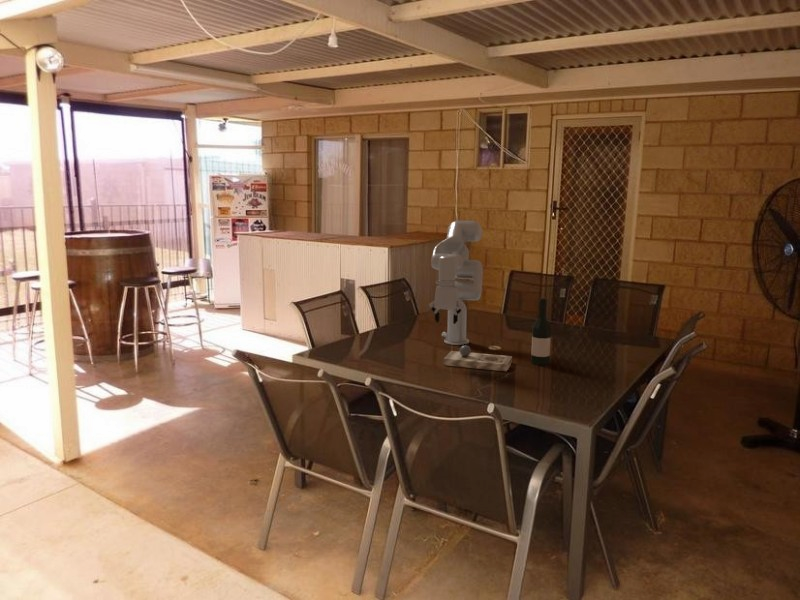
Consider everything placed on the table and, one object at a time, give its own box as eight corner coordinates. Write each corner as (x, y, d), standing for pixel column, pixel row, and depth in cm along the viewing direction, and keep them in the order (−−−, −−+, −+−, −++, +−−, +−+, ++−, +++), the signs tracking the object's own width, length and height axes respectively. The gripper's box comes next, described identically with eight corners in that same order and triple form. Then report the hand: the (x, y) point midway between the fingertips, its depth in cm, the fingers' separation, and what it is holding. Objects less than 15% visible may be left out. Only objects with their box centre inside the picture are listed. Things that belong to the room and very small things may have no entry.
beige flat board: (443, 365, 269) (443, 358, 268) (451, 357, 282) (451, 350, 281) (507, 371, 260) (507, 364, 259) (511, 362, 273) (512, 356, 272)
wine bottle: (536, 366, 267) (539, 299, 262) (527, 361, 275) (530, 296, 270) (553, 365, 269) (556, 298, 264) (543, 360, 277) (546, 295, 272)
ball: (457, 356, 272) (457, 345, 271) (463, 354, 276) (463, 343, 275) (466, 358, 269) (467, 347, 268) (472, 356, 272) (473, 345, 272)
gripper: (425, 283, 268) (425, 322, 272) (464, 285, 263) (463, 325, 266) (430, 281, 275) (429, 319, 279) (468, 283, 270) (467, 322, 273)
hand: (446, 322), depth 272 cm, fingers open, 7 cm apart
